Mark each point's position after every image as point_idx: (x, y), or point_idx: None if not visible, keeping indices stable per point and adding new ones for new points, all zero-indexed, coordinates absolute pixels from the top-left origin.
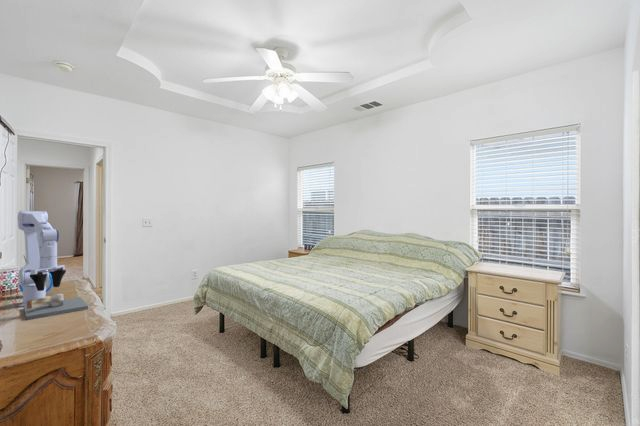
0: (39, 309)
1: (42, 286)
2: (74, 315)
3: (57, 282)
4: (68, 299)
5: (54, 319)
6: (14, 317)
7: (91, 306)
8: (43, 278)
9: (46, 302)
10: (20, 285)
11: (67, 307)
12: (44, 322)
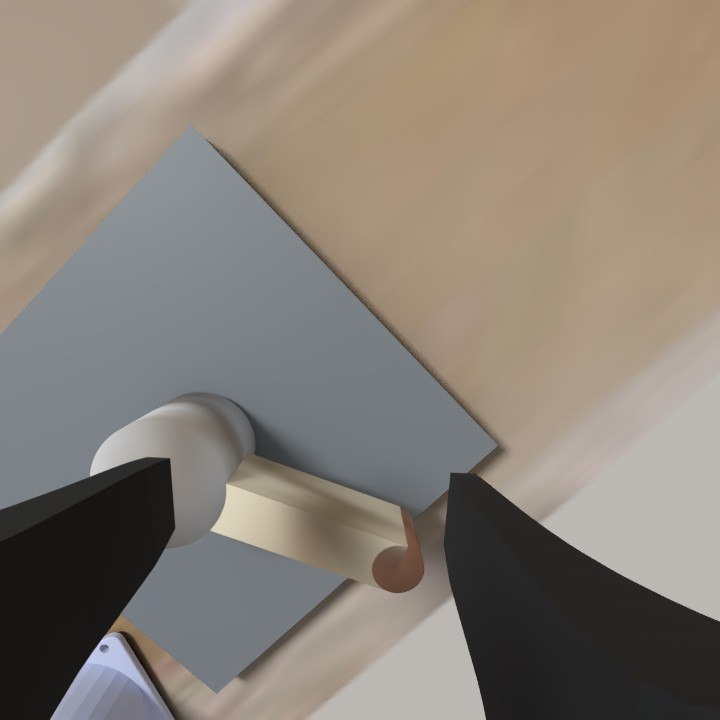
0: None
1: (510, 504)
2: (384, 130)
3: (117, 518)
4: (9, 479)
5: (482, 227)
6: None
7: (121, 164)
8: (638, 607)
9: (286, 476)
10: None
11: (254, 292)
12: (550, 251)
